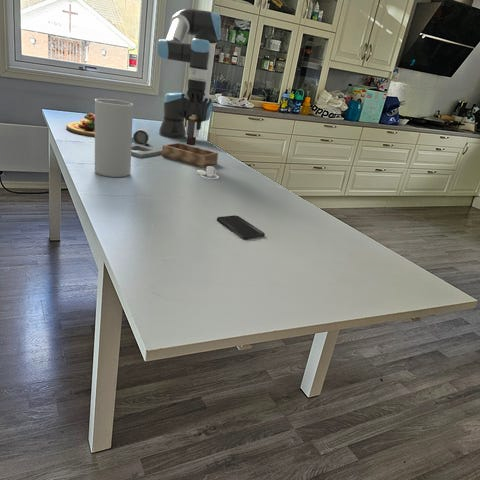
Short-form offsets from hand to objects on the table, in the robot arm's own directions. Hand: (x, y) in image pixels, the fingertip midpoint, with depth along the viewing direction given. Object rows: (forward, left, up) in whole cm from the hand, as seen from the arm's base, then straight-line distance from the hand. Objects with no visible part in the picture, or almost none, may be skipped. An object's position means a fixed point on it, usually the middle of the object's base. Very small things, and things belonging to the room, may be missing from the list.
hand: (191, 135), depth 180 cm
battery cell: (0, 0, -4) cm, 4 cm away
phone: (+55, +55, -11) cm, 78 cm away
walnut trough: (0, 0, -11) cm, 11 cm away
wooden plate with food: (-7, -62, -11) cm, 63 cm away
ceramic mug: (-4, -33, -11) cm, 35 cm away
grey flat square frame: (+10, -21, -11) cm, 26 cm away
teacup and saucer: (+12, +18, -12) cm, 24 cm away
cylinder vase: (+44, -4, -11) cm, 45 cm away
